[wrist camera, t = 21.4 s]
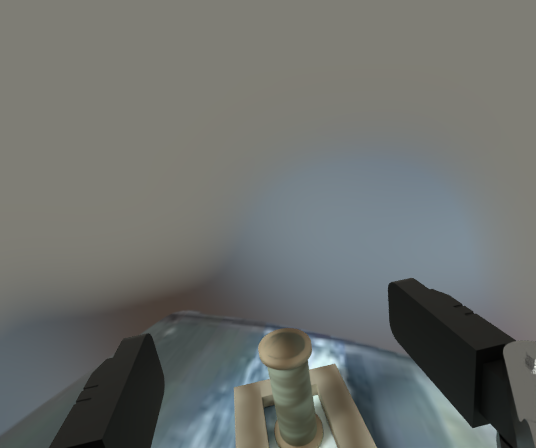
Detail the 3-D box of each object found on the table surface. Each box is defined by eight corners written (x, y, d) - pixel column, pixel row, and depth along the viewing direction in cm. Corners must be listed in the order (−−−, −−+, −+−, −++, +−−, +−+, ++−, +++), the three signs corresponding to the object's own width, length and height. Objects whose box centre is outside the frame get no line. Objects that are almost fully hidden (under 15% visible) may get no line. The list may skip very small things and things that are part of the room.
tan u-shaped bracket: (240, 498, 34) (237, 486, 33) (236, 397, 47) (234, 387, 46) (378, 461, 35) (377, 448, 35) (336, 373, 48) (335, 363, 48)
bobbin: (280, 463, 37) (262, 370, 33) (271, 417, 43) (255, 334, 39) (330, 449, 37) (318, 356, 33) (314, 406, 43) (303, 323, 40)
